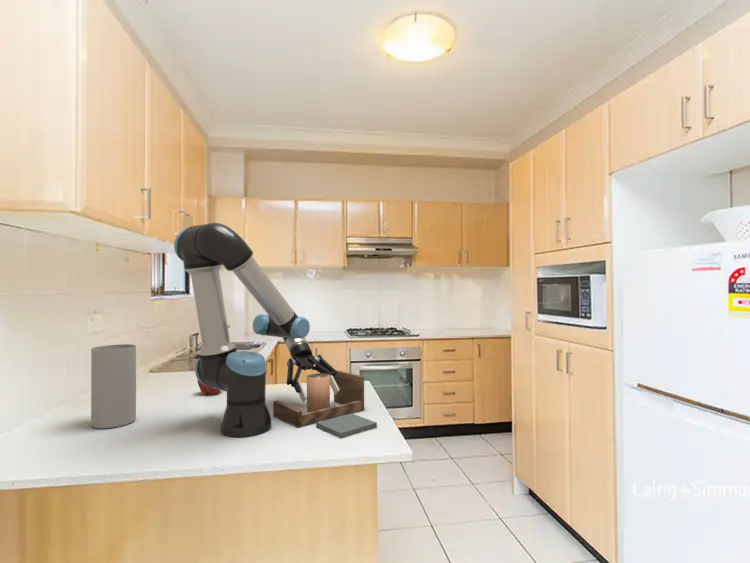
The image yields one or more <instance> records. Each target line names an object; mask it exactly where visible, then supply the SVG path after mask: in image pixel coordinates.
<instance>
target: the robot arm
mask: <svg viewBox="0 0 750 563" xmlns="http://www.w3.org/2000/svg"><path fill="white" fill-rule="evenodd" d="M173 246H174V247H173V249H174V252H175V254H176V257H177V258H179V259H180V260H181V261H182V262H183V268H184V270H185V272H187V273H188V274H189V275H190V278H191V284H192V292H193V295H194V303H195V308H196V314H197V320H198V327H199V332H200V339H201V346H202V348H200V349H199V351H198V359H197V361H196V362H195V365H194V366H195V367H194V373H195V377H196V379H197V381H198V380H199V382H200V383H201V384H203V385H205V386H207V387H209V388H211V389H218V390H220V391H222V392H226V407H225V410H224V413H223V416H222V419H221V422H220V433H221V434H222V435H223V436H226V437H233V438H244V437H252V436H257V435H260V434H263V433H266V432H267V431H269V430H270V429H271V428H272V417H271V414H270V412H269V408H268V406H267V403H266V390H267V389H266V387H267V386H266V383H267V382H266V380H267V379H266V377H267V376H266V375H267V374H266V372H267V366H266V359H265V357H264V355H262V354H261V353H259V352H255V351H244V350H243V351H241V350H240V351H238V350H237V348H236V344H235V343H233V342H231V339H230V334H229V327H228V321H227V313H226V307H225V300H224V295H223V289H222V282H221V276H220V270H221V269H222V267H224V268H225V269H226V271H228V272H233V274H234V275H235V276H236V277H237V278H238V280H239V281H240V282H241V284H243V285H244V287H245V288H246V290H248V292H249V293H250V294H251V296H253V298H254V299H255V300H256V302H257V303H258V304H259V305H260V306H261V308H262V309H263V310H264V311H265V312H266V314H264V313H263V314H262V313H261V314H257V315H256V316H255V317H254V318H253V321H252V330H253V332H254V334H256V335H260V336H269V337H275V338H282V339H283V341H284V344H285V345H286V348H287V350H288V352H289V354H290V357H291V358H289V359H288V360H287V362H286V365H287V375H286V385H287V386H289V385H290V387H292V388H294V391H295V393H297V394H298V395H299V397H300V399H301V401H302V403H304V402H305V401H307V392H306V391H305V389H304V386H303V384H302V382H301V381H300V380H299V379H300V375H301V374H302V373H301V372H302V371H306V370H313V371H316V372H318V373H324V374H329V375H330V388H331V389H332V392H333V395H334V394H335V395H336V394H337V393H338V392H339V388H338V386H337V381H336V379H335V377H334V376H335V375H336V373H337V371H336V370H337V369H335V368H334V367H333V366H332V365H331V364H330V363H329V362H328V361H326V359H324V357H323V356H322V355H321V354H318V355H317V356H314V355H313V352H312V349H311V347H310V345H309V342H308V340H307V339H306V337H307V336H308V334H309V333H310V329H311V325H310V321H309V319H307V318H305V317H304V316H303V317H302V316H298V314H297V313H296V312H295V311H294V309H293V308H292V307H291V305H290V304H289V303H288V301H287V300H286V299H285V297H284V296H283V295H282V294H281V292H280V291H279V289H277V287H276V285H275V284H274V283H273V282H272V281H271V279H270V278H269V276H268V275H267V274H266V273H265V271H264V270H263V268H262V267H261V266H260V265H259V263H258V262H257V261H256V260H255V258H254V251H253V250H252V248H250V246H249V245H248V243H246V241H245V240H244V239H243V238H242V237H241V236H240V235H239V234H238V233H237V232H236V231H234V230H233V229H232V228H230V227H229V226H228V225H225V224H223V223H220V222H219V223H218V222H210V223H209V222H208V223H205V224H199V225H198V224H196V225H191V226H189V227H186V228H183V229H182V230H181V231H179V232H178V234H176V237H175V239H174V242H173ZM294 366H296V367H297V370H296V373H295V375H294ZM293 375H294V376H293Z"/></svg>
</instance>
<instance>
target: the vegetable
mask: <svg viewBox="0 0 750 563" xmlns="http://www.w3.org/2000/svg"><path fill="white" fill-rule="evenodd" d="M197 384H198V387H199V390H200V391H201V392H200V393H202V394H203V395H216V394H218V393H220V392H221V390H218V389H211V388H209V387H207V386H205V385H203V384H201V383H200V382H199V380H198V379H197Z"/></svg>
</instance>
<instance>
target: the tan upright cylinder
mask: <svg viewBox="0 0 750 563" xmlns="http://www.w3.org/2000/svg"><path fill="white" fill-rule="evenodd" d="M330 388H331V386H330V374H324V373H319V372H318V373H317V372H316V373H310V374H307V375H306V395H307V398H306V413H308V412H312V411H317V410H321V409H325V408H329V407H331V402H330V401H331V400H330V399H331V397H330V394H331V392H330V390H331V389H330Z"/></svg>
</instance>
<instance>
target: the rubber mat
mask: <svg viewBox="0 0 750 563" xmlns="http://www.w3.org/2000/svg"><path fill="white" fill-rule="evenodd" d="M315 428H317V429H319V430H321V431H323V432H326V433H328V434H330V435H333V436H335V437H337V438H339V439H343V438H347V437H350V436H354V435H356V434H360V433H363V431H364V432H366V431H370V430H373V429H376V428H378V422H376V421H373V420H370V419H367V418H365V417H363V416H360V415H357V414H355V413H353V414H352V413H351V414H347V415H343V416H339V417H336V418H332V419H328V420H324V421H320V422H316V423H315ZM353 434H354V435H353Z"/></svg>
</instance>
